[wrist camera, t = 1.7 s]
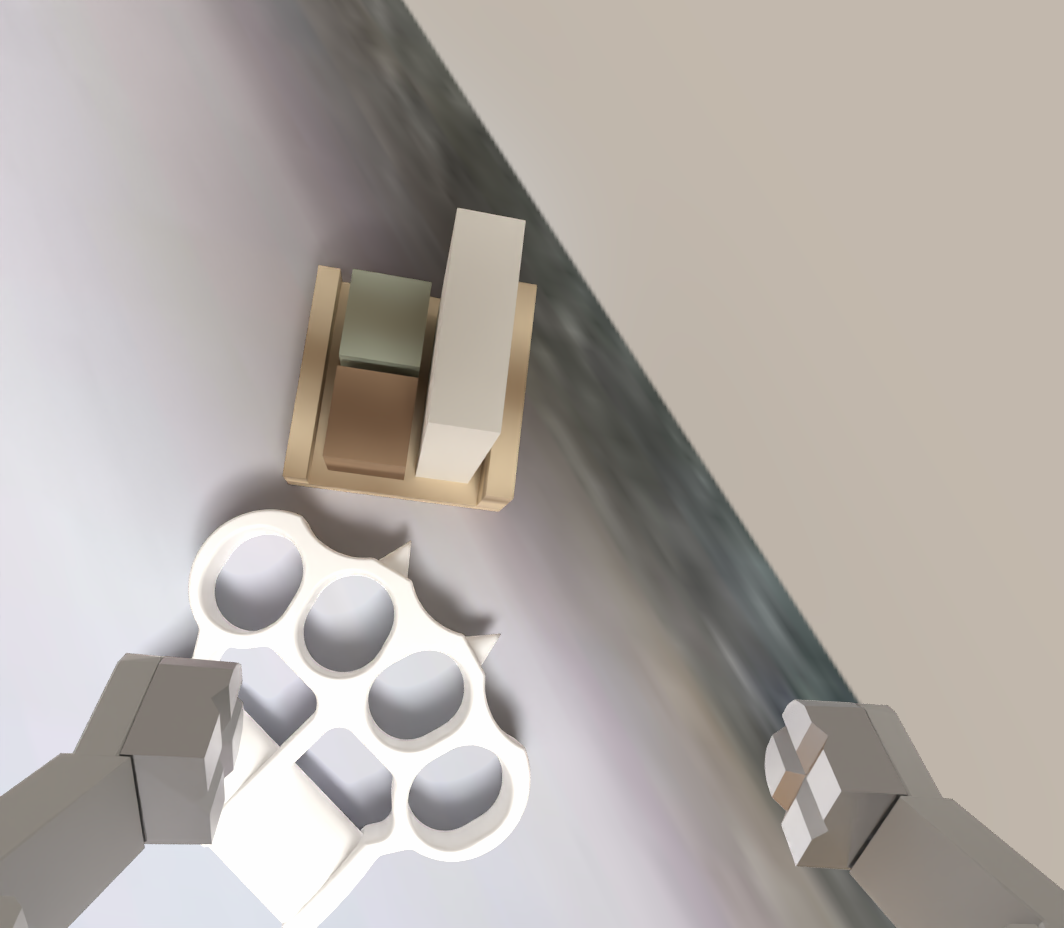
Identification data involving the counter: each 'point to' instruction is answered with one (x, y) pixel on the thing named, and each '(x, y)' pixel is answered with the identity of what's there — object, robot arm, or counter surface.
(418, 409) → the oak rack
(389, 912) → the counter surface
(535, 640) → the counter surface
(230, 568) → the counter surface
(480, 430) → the cream board
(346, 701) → the knuckle duster
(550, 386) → the counter surface
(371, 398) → the offcuts
